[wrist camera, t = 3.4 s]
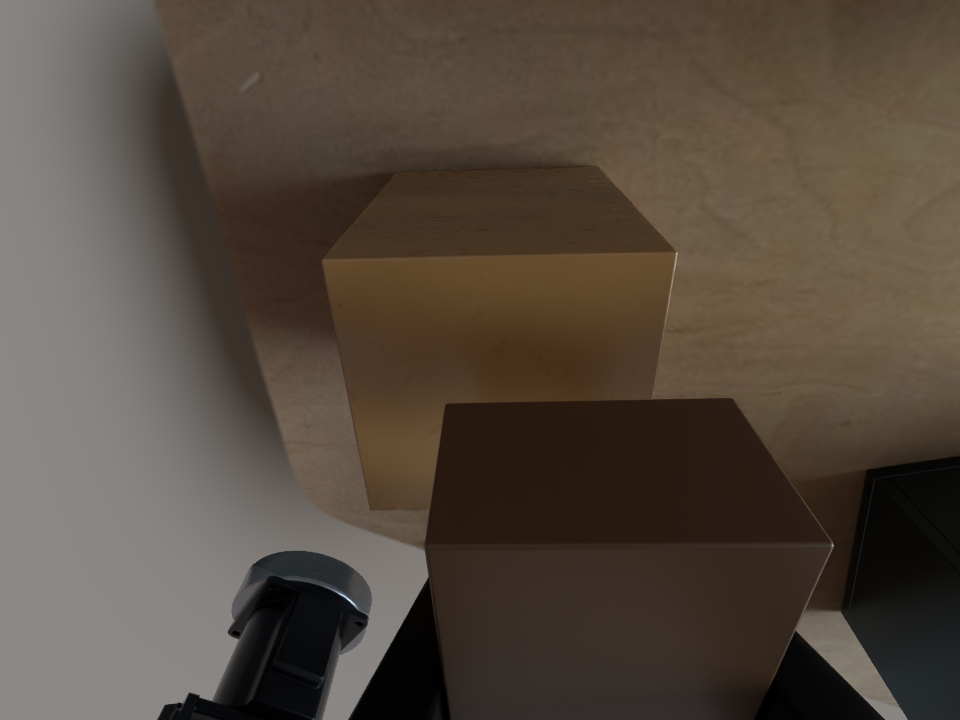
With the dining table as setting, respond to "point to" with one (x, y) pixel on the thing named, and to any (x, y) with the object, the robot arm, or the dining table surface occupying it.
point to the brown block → (614, 560)
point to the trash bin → (910, 584)
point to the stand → (489, 306)
